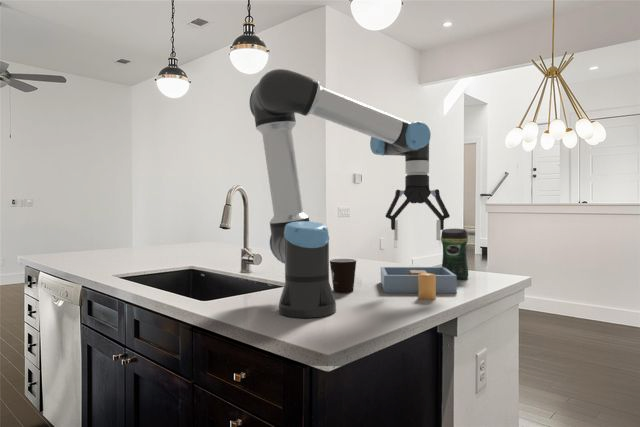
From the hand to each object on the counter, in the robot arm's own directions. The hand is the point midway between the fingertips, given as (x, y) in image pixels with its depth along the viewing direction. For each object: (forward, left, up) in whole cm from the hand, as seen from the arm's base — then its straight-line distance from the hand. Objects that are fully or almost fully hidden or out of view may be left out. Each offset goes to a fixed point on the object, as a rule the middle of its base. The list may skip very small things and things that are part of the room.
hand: (417, 240), depth 140 cm
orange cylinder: (-12, -1, -16) cm, 20 cm away
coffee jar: (+23, -17, -16) cm, 33 cm away
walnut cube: (0, 0, -15) cm, 15 cm away
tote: (+4, 0, -16) cm, 17 cm away
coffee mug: (-1, +24, -16) cm, 29 cm away
